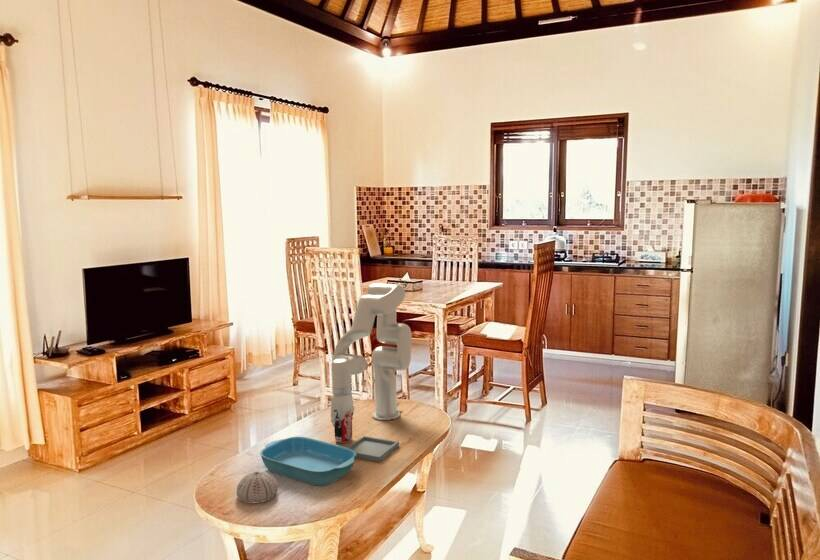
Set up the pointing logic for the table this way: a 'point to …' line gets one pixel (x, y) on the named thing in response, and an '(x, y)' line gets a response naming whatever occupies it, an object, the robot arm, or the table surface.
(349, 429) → the soda can
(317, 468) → the casserole dish
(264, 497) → the sea urchin shell
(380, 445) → the tray
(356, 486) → the table surface
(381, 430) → the table surface
